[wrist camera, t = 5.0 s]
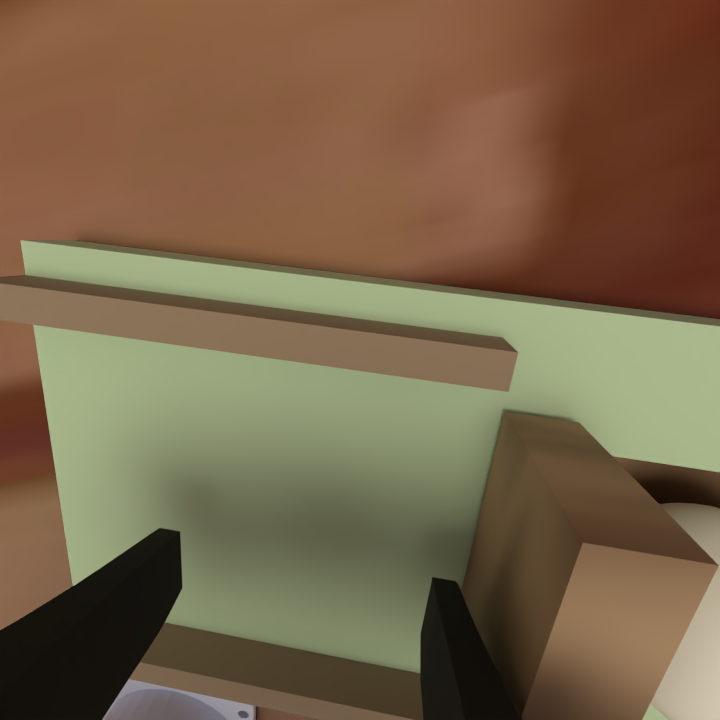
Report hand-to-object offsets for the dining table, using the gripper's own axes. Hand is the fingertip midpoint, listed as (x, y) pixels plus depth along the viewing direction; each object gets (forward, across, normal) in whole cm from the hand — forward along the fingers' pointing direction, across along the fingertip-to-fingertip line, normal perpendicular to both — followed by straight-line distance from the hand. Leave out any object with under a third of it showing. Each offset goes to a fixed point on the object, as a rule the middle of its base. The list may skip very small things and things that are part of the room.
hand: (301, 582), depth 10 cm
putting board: (+4, -4, 0) cm, 6 cm away
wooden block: (+2, -6, 0) cm, 6 cm away
